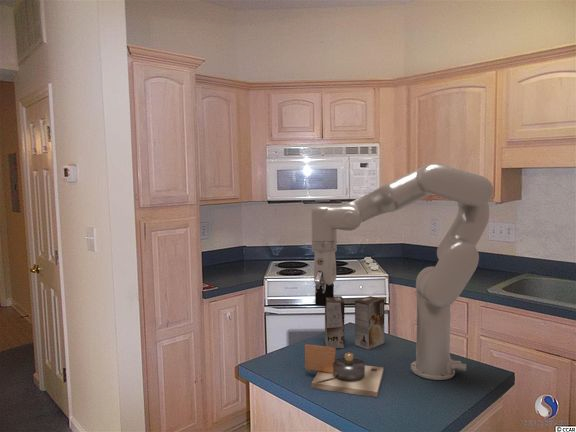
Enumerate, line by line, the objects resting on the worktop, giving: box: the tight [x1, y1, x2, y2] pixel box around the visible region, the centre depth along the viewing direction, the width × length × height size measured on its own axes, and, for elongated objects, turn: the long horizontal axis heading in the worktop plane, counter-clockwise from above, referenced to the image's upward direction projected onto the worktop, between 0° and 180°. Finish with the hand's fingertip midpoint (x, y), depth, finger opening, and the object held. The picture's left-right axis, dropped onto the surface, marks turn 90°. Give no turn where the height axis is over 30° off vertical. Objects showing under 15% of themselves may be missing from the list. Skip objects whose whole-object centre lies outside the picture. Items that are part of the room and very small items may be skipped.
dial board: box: [311, 364, 384, 398], centre depth 127 cm, size 18×16×2 cm
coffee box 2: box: [354, 295, 385, 350], centre depth 154 cm, size 9×6×16 cm
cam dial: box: [304, 343, 366, 381], centre depth 128 cm, size 18×9×7 cm, turn 72°
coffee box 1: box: [324, 295, 346, 349], centre depth 155 cm, size 9×6×16 cm
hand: (324, 301), depth 135 cm, fingers open, 9 cm apart
